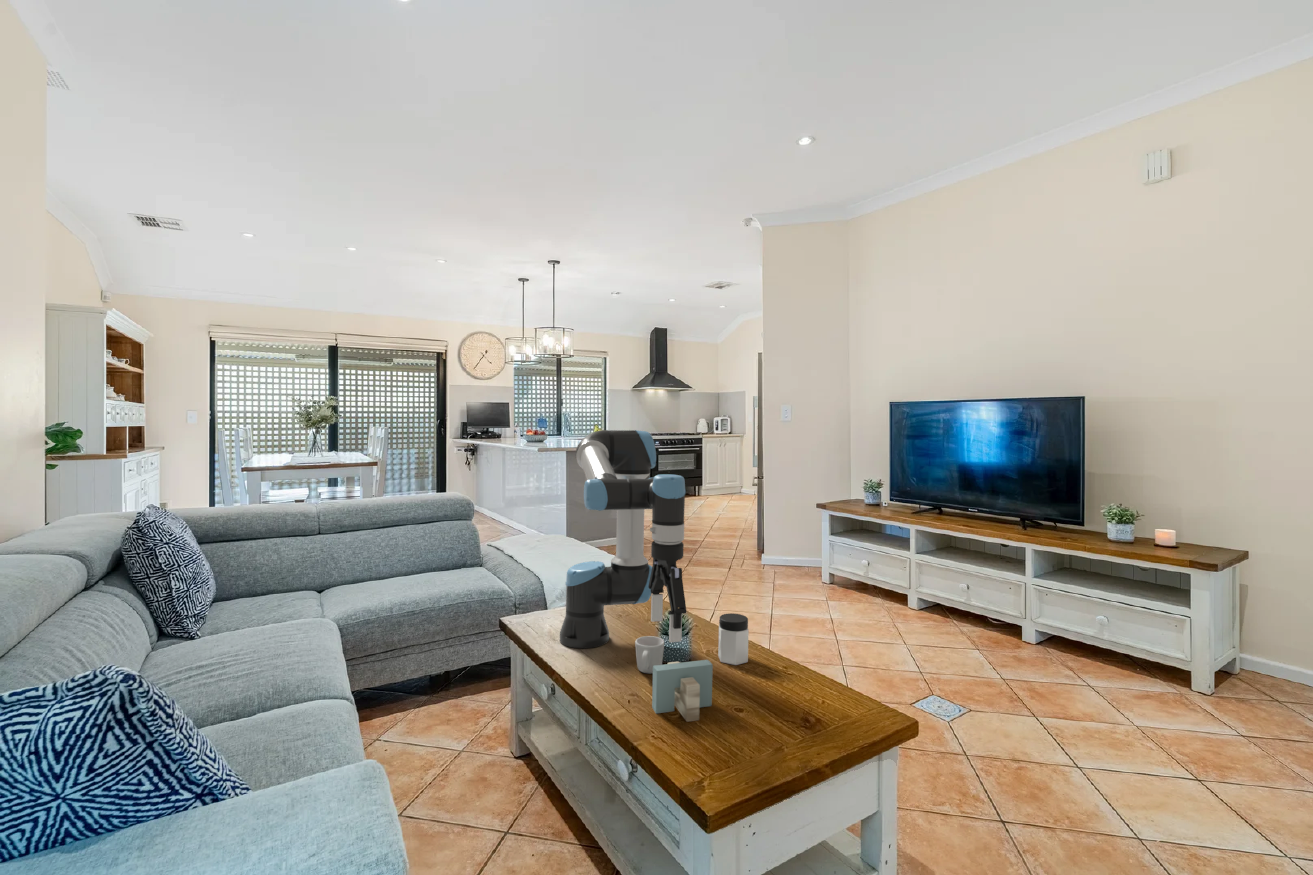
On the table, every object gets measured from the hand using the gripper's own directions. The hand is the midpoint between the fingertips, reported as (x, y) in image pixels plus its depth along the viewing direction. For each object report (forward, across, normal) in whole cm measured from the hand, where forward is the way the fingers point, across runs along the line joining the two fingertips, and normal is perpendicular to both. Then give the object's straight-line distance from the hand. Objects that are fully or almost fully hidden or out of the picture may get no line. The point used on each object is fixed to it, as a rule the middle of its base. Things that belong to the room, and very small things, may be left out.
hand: (665, 630), depth 141 cm
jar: (+19, -22, +28) cm, 41 cm away
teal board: (+18, +1, +4) cm, 19 cm away
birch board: (+18, +1, +4) cm, 19 cm away
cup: (+19, -20, +2) cm, 28 cm away
